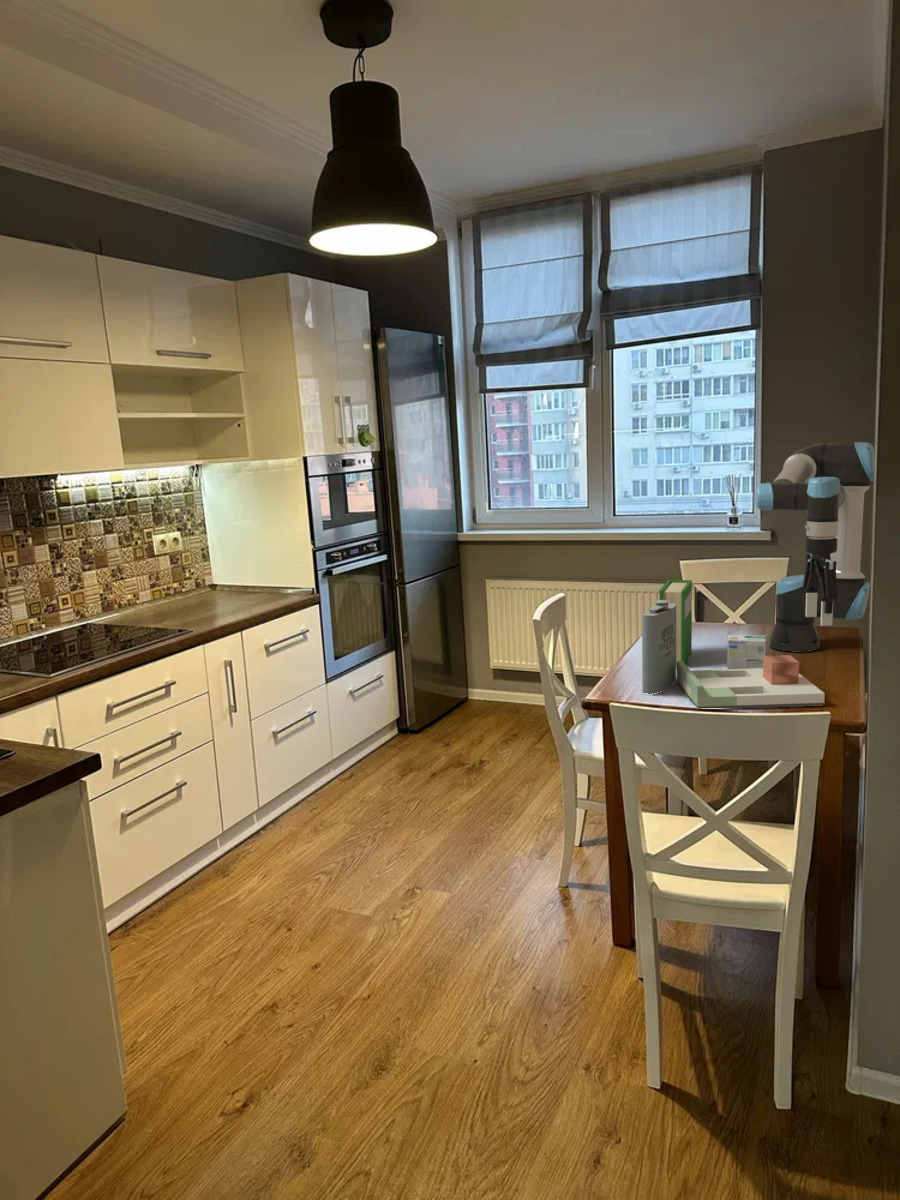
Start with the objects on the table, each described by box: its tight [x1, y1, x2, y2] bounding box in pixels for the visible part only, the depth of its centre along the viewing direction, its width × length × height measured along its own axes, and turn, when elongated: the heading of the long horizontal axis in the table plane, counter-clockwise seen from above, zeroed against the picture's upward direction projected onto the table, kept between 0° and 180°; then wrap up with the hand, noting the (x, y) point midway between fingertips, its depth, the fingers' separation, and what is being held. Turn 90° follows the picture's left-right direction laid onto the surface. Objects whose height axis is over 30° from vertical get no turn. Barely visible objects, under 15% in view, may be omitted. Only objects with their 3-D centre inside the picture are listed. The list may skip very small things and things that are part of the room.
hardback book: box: [659, 579, 693, 666], centre depth 255 cm, size 18×7×24 cm, turn 157°
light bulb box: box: [727, 634, 767, 669], centre depth 240 cm, size 11×7×11 cm, turn 71°
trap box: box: [676, 661, 826, 711], centre depth 221 cm, size 32×24×6 cm
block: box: [763, 654, 800, 685], centre depth 220 cm, size 7×7×6 cm
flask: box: [641, 599, 677, 694], centre depth 229 cm, size 17×5×25 cm, turn 143°
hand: (818, 620), depth 217 cm, fingers open, 10 cm apart
